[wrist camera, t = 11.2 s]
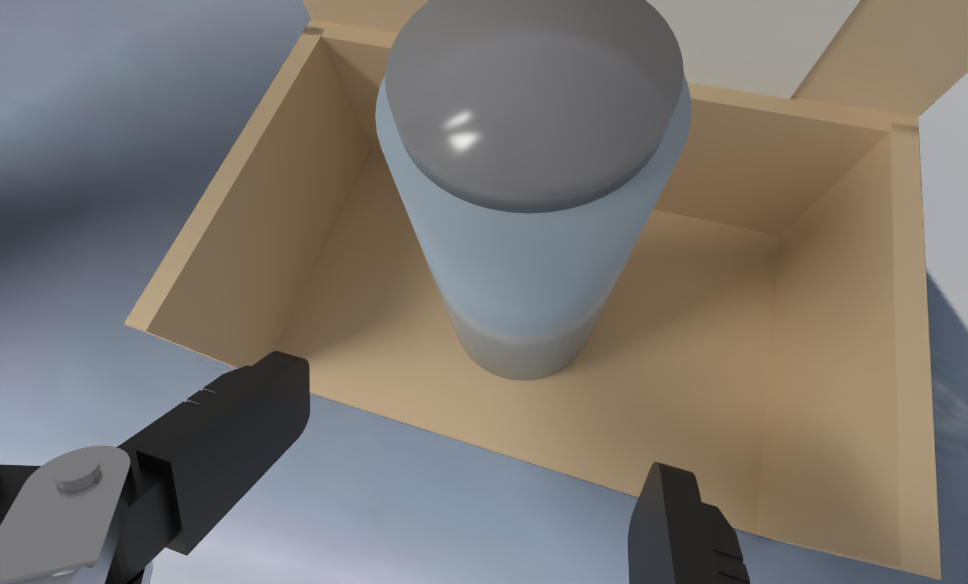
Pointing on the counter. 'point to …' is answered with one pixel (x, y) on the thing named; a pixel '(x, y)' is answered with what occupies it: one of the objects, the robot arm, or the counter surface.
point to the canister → (531, 161)
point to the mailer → (629, 274)
